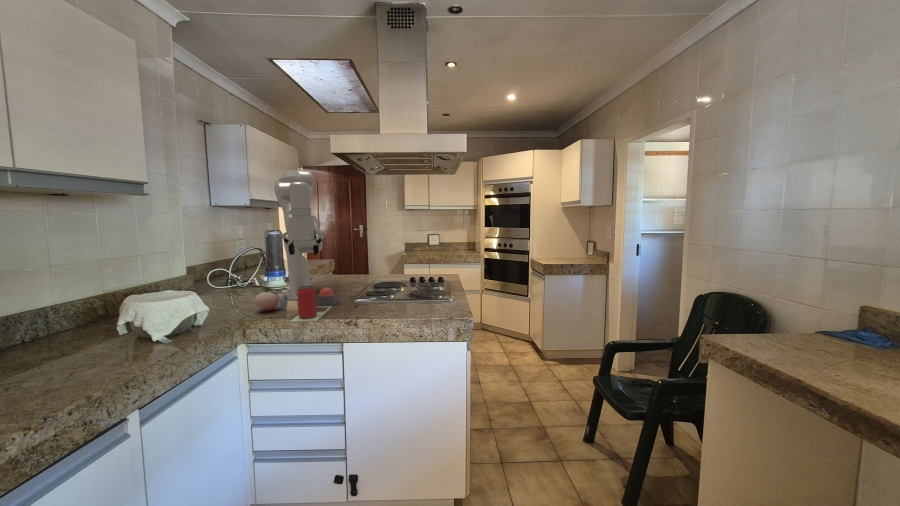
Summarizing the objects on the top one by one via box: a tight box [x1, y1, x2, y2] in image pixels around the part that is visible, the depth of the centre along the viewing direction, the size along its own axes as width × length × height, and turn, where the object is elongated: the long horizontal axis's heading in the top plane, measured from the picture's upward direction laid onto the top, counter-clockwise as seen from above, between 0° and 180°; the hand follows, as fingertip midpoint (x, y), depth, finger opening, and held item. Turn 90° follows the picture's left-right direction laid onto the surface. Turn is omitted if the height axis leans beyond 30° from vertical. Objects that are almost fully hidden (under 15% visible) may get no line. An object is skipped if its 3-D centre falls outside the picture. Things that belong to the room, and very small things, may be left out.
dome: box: [318, 286, 334, 296], centre depth 152 cm, size 6×6×6 cm
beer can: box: [296, 285, 318, 319], centre depth 131 cm, size 7×7×12 cm
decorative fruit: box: [254, 287, 281, 312], centre depth 142 cm, size 9×8×10 cm
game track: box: [289, 291, 339, 323], centre depth 142 cm, size 10×30×4 cm, turn 3°
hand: (304, 254), depth 139 cm, fingers open, 9 cm apart
